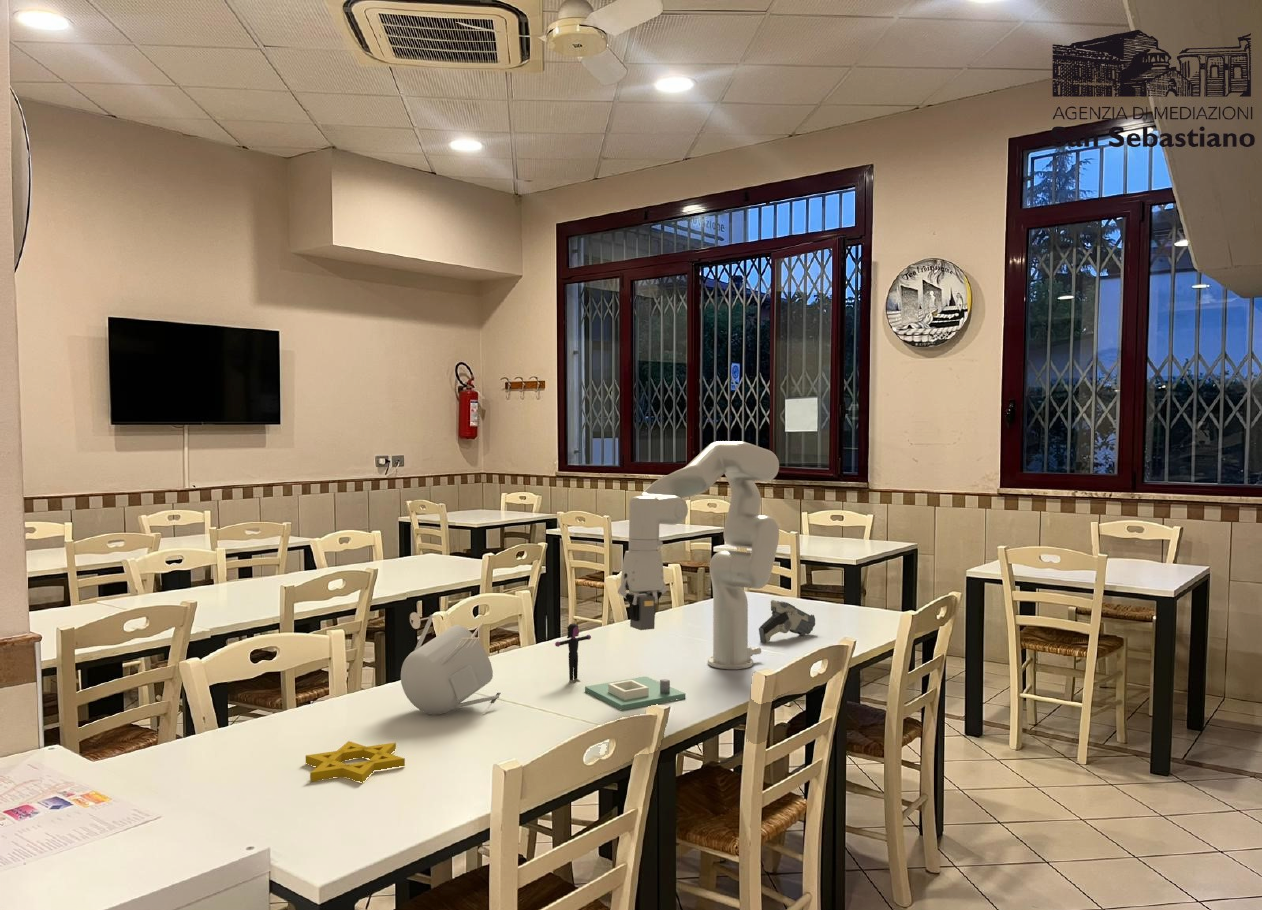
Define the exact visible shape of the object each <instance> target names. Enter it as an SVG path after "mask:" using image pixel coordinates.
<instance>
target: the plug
mask: <svg viewBox="0 0 1262 910" xmlns="http://www.w3.org/2000/svg"><path fill="white" fill-rule="evenodd" d="M637 605H639V620H638V621H634V620H631V619H630V618H629V619H630V623H629V626H630V628H633V629H636V630H637V631H638V630H639V631H646V630H647V631H648V630H654V629H655V624H656V623H655V620H656V617H655V616H656V614H655V596H651V595H648V594H647V593H639V595H638V601H637Z"/></svg>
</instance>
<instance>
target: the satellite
mask: <svg viewBox="0 0 1262 910" xmlns="http://www.w3.org/2000/svg"><path fill="white" fill-rule="evenodd" d="M419 615H420V614H419V613H417V612H415V611H413V612H411V613H410V614H409V623H410V625H411V627H412V628H413V629H415V630H416V629H419V628H420V627H421V621H425V620H427V621H426V624H425V626H424V628H423V631H422V632H421V634H420V637H419V640H418V641H417V644H416V647H414V650H413V651H412V652H409V654H408V656H406V658H405V659H404V661H403V662H402V666H401V668H400V669H401V671H400V683H401V686H402V690H403V693H404V694H405V696H406V698H407V699H408V701H409V702H410V703H411V704H412V705H413V706H414V707H415V708H417V709H418V710H419V711H421V712H423V713H425V714H428V715H441V714H445V713H448V712H450V711H451V710H453V709H458V708H464V707H467V706H471V705H476V704H482V703H485V702H489V703H490V704H489V705H488V706H487V708H486V710H485V711H484V712H483V714H484V715H485V714H486V713H487V711H488V710H490V709H489V708H490V707H491V706H492V704H495V702H496V701H497V700H498V699H499V698H500V695H501V692H497V693H496V694H495V695H491V696H487V697H481V698H477V699H472V700H469V701H468V700H467V701H465V700H466V699H467V698H469V697H471V696H472V695H474V694H475V693H476V692H478V691H479V690H481V689H482V688H484V687H485V686H486V685H488V684H490V682H491V681H492V680H493V677H494V675H493V674H494V673H493V667H492V664H491V663H492V662H491V660H490V657H489V655H488V653H487V652H486V649H484V647H483V644H482V643H481V642H480V641H479V640H480V639H481V638H480V637H476V636H477V635H478V631H479V630H480V628H481V627H482V625H483V624H484V622H483V621H481V622H480V623H479V625H478V626H477V628H476V629H475V631H474V632H471V631H470V630H469V629H468V628H466V627H464V626H463V625H460V624H454V625H453V626H450V627H449V628H447V629H446V630H444V631H443V632H441V633H440V634H438V635H436V637H434V638H432V639H430V640H429V641H427V642H426V643H424V644H423V642H424V640H425V638H426V636H427V633H428V630H429V629H430V626H431V624H432V622H433V618H437V617H436V615H433V614H430V615H429V616H428V617H423V618H420V616H419ZM422 644H423V645H422Z"/></svg>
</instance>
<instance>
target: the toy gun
mask: <svg viewBox="0 0 1262 910" xmlns="http://www.w3.org/2000/svg"><path fill="white" fill-rule="evenodd" d="M770 610H771V616H770V617H769V618H768V619H767V620H766V621H764V622H763V623H762V624H761V625H760V626H759V627H758V635H759V640H760V643H763V644H767V643H769V642H771V638H772V637H773V636H774V635H776V634H778V633H782V634H787V633H788V632H790V633H793V634H797V635H799V636H803V637H805V636H806V635H809V634H811V632H813V630H814V628H815V625H816V618H815V615H814V614H808V613H806V612H805V611H802V610H800V609H799V608H797V607H796V606H795V605H792V604H791V603H789V602H786V601H779V600H775V599H771V601H770Z"/></svg>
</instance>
